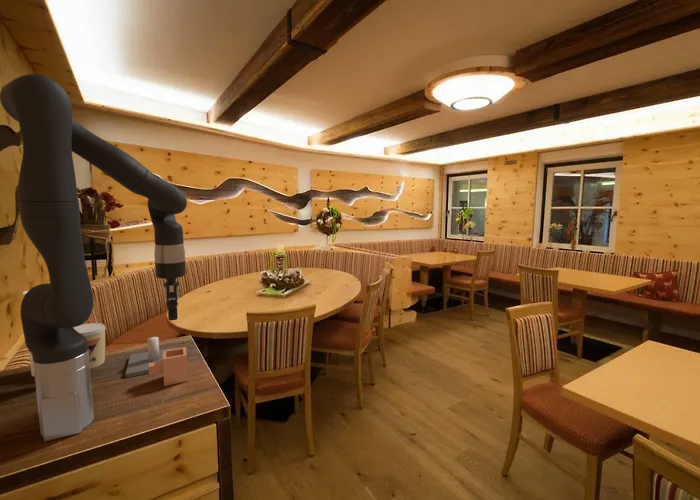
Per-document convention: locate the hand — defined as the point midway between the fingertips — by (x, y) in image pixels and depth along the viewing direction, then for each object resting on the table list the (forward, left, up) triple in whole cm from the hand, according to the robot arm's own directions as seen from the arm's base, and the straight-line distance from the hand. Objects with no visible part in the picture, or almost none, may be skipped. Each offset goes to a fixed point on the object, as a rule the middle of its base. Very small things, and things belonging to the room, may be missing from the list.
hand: (172, 315), depth 92 cm
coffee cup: (+22, +24, -20) cm, 38 cm away
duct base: (+14, +6, -20) cm, 25 cm away
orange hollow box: (0, +2, -19) cm, 20 cm away
